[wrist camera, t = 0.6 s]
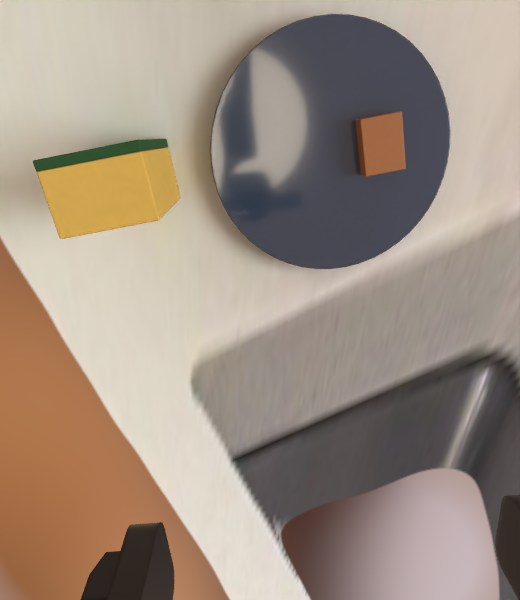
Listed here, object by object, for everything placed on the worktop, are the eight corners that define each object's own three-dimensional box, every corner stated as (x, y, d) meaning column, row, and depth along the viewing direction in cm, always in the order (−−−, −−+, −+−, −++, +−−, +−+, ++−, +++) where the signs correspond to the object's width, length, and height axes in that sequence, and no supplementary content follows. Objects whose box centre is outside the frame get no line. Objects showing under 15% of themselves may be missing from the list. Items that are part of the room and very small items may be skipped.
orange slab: (354, 119, 33) (360, 119, 31) (395, 111, 32) (402, 110, 31) (360, 175, 34) (365, 177, 32) (399, 167, 34) (406, 169, 32)
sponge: (89, 154, 34) (32, 160, 25) (166, 138, 34) (138, 139, 24) (107, 212, 36) (59, 239, 26) (180, 198, 35) (159, 220, 26)
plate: (186, 46, 32) (184, 42, 30) (437, -5, 31) (446, -11, 30) (237, 282, 38) (237, 287, 37) (446, 242, 38) (454, 246, 36)
